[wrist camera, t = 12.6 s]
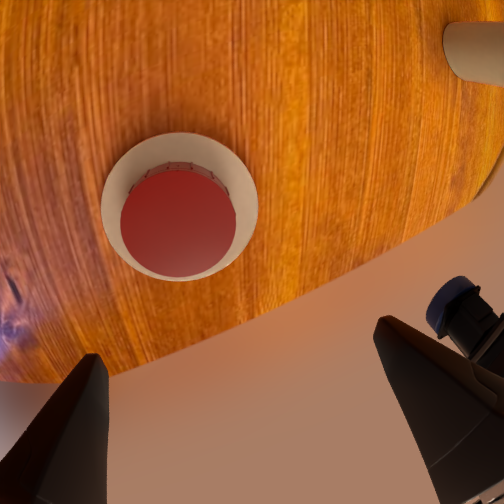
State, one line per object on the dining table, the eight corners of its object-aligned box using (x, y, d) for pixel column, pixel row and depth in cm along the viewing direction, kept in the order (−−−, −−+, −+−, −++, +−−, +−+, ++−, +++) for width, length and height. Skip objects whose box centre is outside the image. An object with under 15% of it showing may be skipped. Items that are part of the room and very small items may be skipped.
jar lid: (150, 143, 14) (145, 149, 12) (251, 188, 16) (258, 200, 15) (112, 238, 16) (105, 255, 15) (204, 273, 18) (206, 291, 17)
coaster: (271, 247, 19) (274, 254, 19) (142, 291, 19) (141, 298, 18) (231, 108, 15) (233, 109, 14) (80, 168, 14) (75, 172, 14)
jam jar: (484, 81, 16) (563, 101, 9) (448, 81, 15) (539, 100, 9) (474, 25, 13) (554, 31, 6) (436, 18, 13) (526, 17, 6)
